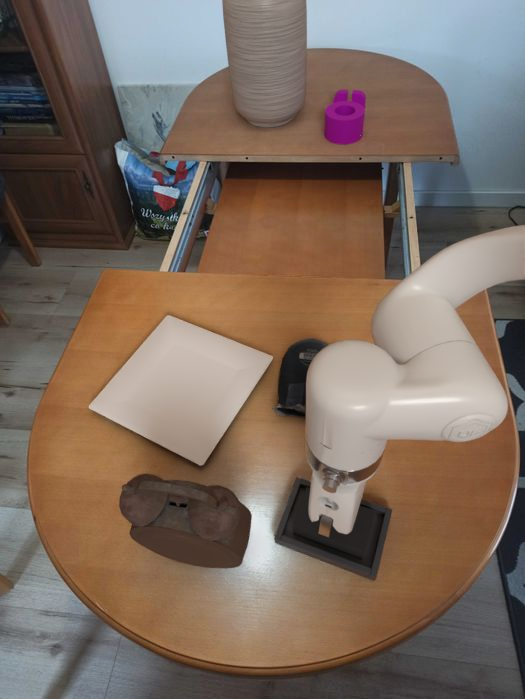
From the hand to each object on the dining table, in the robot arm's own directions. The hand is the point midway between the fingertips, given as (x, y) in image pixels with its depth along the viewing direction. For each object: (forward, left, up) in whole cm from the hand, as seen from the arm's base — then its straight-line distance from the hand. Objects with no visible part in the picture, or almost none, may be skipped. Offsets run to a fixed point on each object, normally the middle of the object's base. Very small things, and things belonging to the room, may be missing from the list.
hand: (334, 511), depth 62 cm
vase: (+49, -104, -7) cm, 115 cm away
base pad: (0, 0, -7) cm, 7 cm away
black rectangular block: (0, 0, -6) cm, 6 cm away
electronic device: (+11, -22, -7) cm, 26 cm away
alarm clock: (+16, +8, -7) cm, 19 cm away
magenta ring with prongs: (+27, -102, -7) cm, 106 cm away
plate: (+30, -14, -7) cm, 34 cm away
